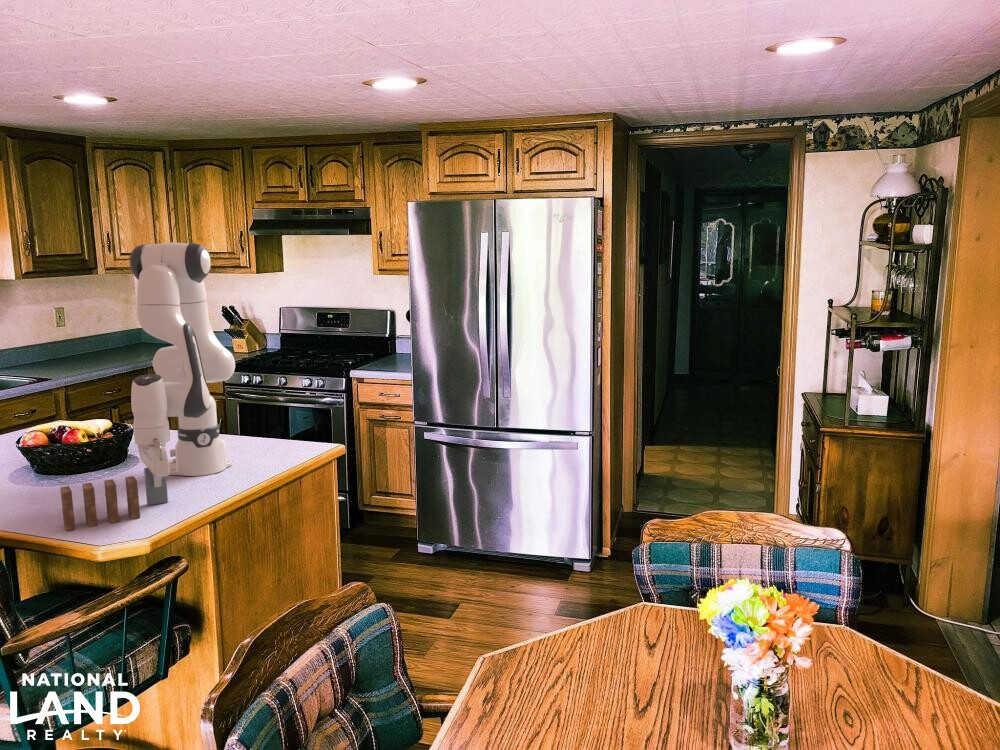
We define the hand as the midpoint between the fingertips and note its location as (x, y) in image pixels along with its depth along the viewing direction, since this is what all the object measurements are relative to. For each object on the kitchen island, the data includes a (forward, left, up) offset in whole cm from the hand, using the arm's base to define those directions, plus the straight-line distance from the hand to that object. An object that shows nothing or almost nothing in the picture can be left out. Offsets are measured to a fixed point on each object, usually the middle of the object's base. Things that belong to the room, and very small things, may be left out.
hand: (156, 484), depth 217 cm
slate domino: (0, 0, -5) cm, 5 cm away
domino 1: (+7, -22, -5) cm, 24 cm away
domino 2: (+7, -17, -5) cm, 19 cm away
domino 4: (+7, -7, -5) cm, 11 cm away
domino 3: (+7, -12, -5) cm, 15 cm away
